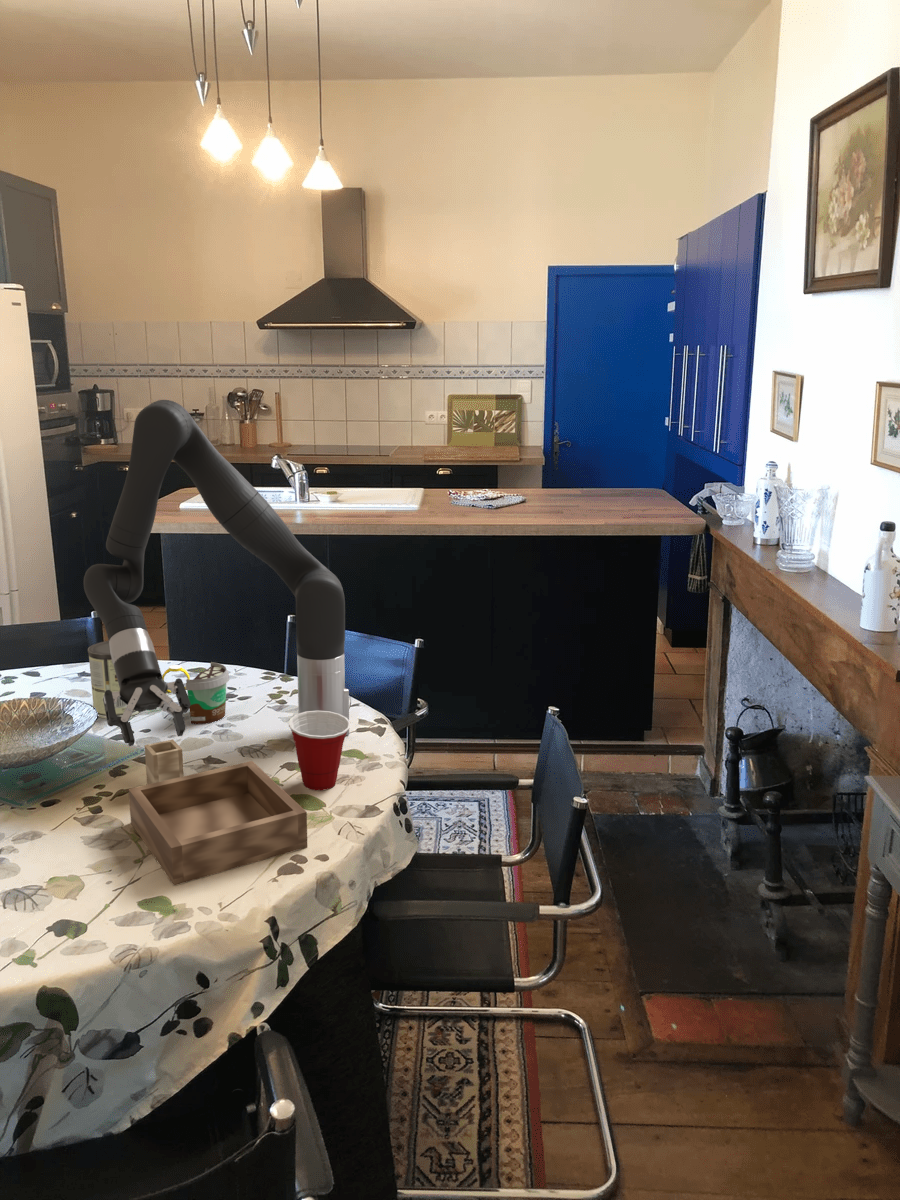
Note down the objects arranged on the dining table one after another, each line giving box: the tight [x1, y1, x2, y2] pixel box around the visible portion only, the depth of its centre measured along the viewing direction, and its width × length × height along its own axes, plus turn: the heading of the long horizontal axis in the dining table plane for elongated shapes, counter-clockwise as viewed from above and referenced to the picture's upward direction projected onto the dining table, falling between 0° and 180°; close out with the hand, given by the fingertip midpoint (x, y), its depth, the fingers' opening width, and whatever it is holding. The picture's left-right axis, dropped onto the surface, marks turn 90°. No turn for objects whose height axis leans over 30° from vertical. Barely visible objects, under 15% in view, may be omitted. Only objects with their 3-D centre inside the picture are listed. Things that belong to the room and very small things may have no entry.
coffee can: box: [87, 640, 141, 720], centre depth 200 cm, size 10×10×14 cm
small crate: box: [143, 739, 185, 785], centre depth 166 cm, size 5×5×8 cm
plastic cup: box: [288, 711, 352, 791], centre depth 168 cm, size 11×11×12 cm
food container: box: [185, 661, 230, 725], centre depth 198 cm, size 12×6×10 cm, turn 168°
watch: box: [162, 664, 191, 694], centre depth 213 cm, size 6×3×6 cm, turn 101°
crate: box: [127, 760, 308, 886], centre depth 151 cm, size 21×22×6 cm
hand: (156, 739), depth 167 cm, fingers open, 8 cm apart
